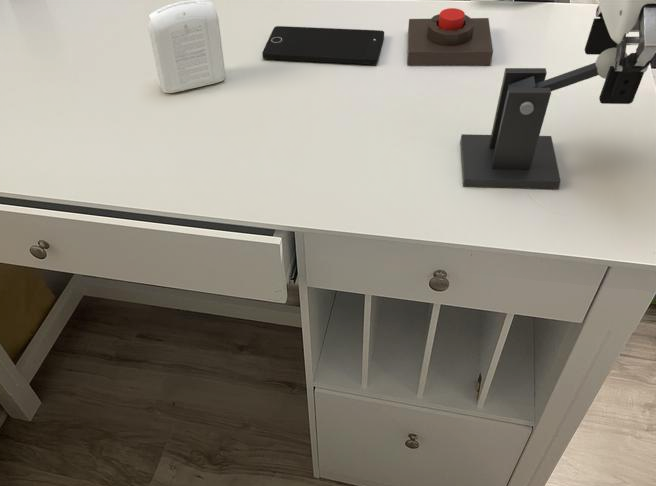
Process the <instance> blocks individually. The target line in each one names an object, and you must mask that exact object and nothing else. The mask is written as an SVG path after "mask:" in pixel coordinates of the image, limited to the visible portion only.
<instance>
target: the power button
mask: <svg viewBox="0 0 656 486" xmlns="http://www.w3.org/2000/svg"><path fill="white" fill-rule="evenodd" d="M465 13H466V12H465V11H463V9H459V8H457V7H450V8H445V9H443V10H440V12H439V14H440V15H439V23H438V26H439V27H440V28H441V29H445V30H458V29H461V28H462V27H463V23H464V17H465V15H466V14H465Z"/></svg>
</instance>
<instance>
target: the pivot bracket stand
mask: <svg viewBox="0 0 656 486" xmlns="http://www.w3.org/2000/svg"><path fill="white" fill-rule="evenodd" d="M532 76H534V79H535V82H536V83H539V82H542V81H544V80H546V77H547V68H545V67H505V68H504V72H503V77H502V82H501V87H500V91H499V92H500V93H499V96H498V101H497V105H496V110H495V115H494V120H493V124H492V128H491V132H490V133H491V134H467V133H465V134H463V133H461V134H460V141H459V143H460V160H461V175H462V176H461V177H462V187H467V188H469V187H470V188H499V189H500V188H501V189H531V190H532V189H533V190H535V189H536V190H559V189H560V185H561V182H562V181H561V177H560V171H559V167H558V162H557V158H556V153H555V152H556V151H555V147H554V143H553V138H552V135H541V131H542V127H543V124H544V120H545V117H546V114H547V110H548V106H549V102H550V99H551V96H552V91H551V90H550V88H508V85H510V84H512V83H515V82H518V81H521V80H524V79H526V78H529V77H532Z"/></svg>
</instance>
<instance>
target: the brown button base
mask: <svg viewBox="0 0 656 486" xmlns="http://www.w3.org/2000/svg"><path fill="white" fill-rule="evenodd" d="M439 15H440V13H438V14H435V15H434V16H432V17H431V18H408V26H407V54H406V55H407V56H406V58H407V59H406V64H407V66H491V65H492V60H493V54H494V49H493V40H492V33H491V27H490V26H491V25H490V19H489V17H470V16H468V15H467V14H465V17H464V23H463V27H462V28H461V29H458V30H445V29H441V28H440V27H439V26H438V23H439Z"/></svg>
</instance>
